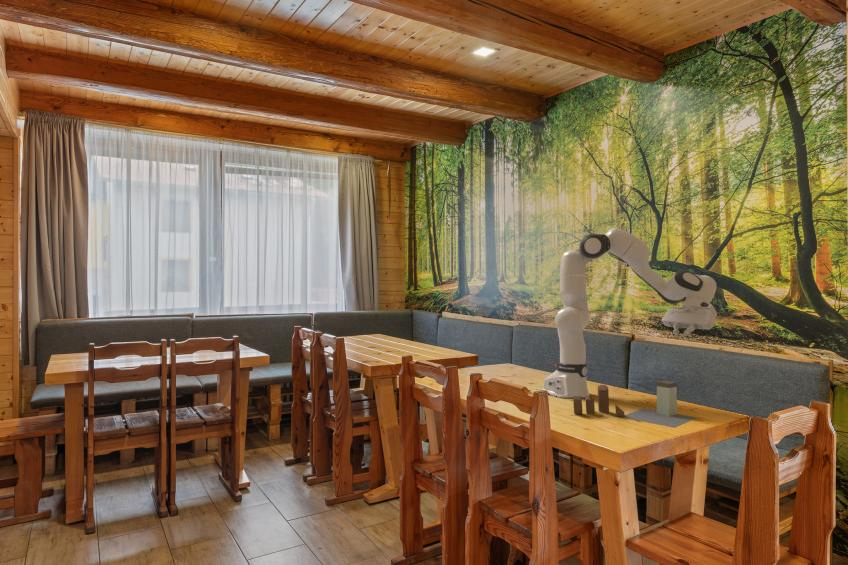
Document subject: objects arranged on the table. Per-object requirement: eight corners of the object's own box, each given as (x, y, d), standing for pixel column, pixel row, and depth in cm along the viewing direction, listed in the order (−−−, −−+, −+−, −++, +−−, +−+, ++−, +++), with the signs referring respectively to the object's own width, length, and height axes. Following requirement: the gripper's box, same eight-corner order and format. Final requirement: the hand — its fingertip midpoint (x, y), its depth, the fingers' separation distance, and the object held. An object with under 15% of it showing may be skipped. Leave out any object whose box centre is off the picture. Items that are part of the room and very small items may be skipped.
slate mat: (619, 418, 204) (619, 416, 204) (644, 409, 217) (644, 408, 217) (674, 429, 189) (674, 427, 189) (697, 419, 203) (697, 417, 203)
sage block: (656, 413, 209) (656, 381, 208) (664, 411, 211) (664, 380, 211) (669, 416, 204) (669, 383, 204) (676, 414, 207) (676, 382, 207)
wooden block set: (574, 420, 208) (573, 397, 205) (573, 408, 216) (572, 384, 213) (625, 420, 204) (624, 396, 200) (622, 407, 212) (621, 384, 208)
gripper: (667, 302, 234) (653, 326, 228) (715, 304, 217) (702, 330, 212) (673, 312, 236) (659, 336, 231) (721, 315, 220) (708, 341, 214)
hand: (680, 333), depth 221 cm, fingers open, 3 cm apart
